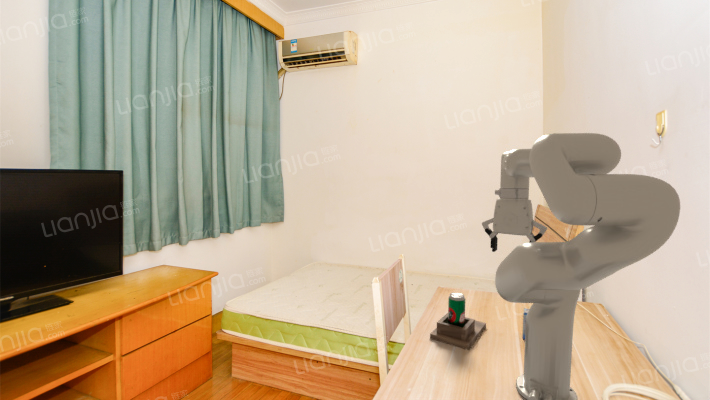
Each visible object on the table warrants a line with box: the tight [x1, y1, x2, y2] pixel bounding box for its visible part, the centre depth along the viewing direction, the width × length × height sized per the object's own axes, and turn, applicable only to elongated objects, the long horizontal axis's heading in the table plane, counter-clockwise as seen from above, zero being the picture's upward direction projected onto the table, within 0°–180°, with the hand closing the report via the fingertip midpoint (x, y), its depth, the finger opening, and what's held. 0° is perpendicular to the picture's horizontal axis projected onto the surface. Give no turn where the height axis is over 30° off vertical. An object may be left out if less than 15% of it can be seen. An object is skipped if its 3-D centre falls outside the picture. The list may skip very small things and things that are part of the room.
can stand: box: [429, 312, 487, 351], centre depth 111 cm, size 18×12×5 cm, turn 144°
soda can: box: [447, 292, 466, 328], centre depth 108 cm, size 5×5×12 cm
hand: (511, 253), depth 100 cm, fingers open, 9 cm apart
